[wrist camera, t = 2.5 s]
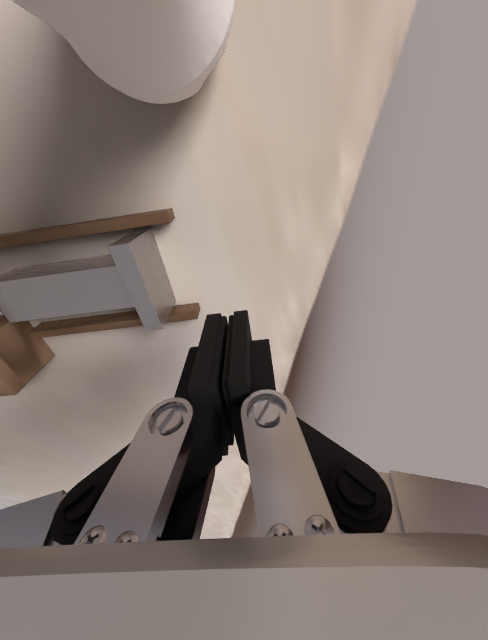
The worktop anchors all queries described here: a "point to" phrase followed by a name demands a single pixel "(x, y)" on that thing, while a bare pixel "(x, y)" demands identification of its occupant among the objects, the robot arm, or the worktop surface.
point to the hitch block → (25, 341)
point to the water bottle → (143, 41)
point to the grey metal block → (93, 284)
